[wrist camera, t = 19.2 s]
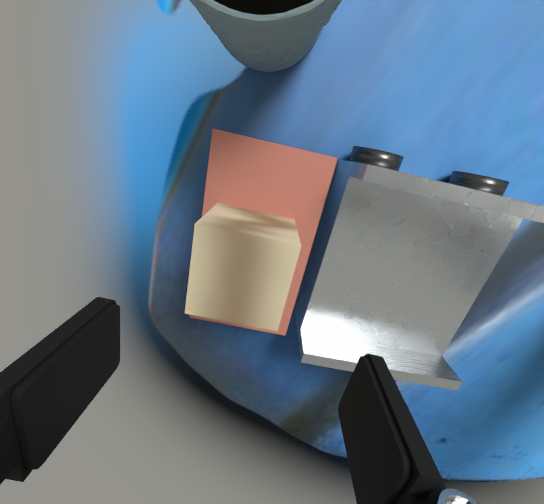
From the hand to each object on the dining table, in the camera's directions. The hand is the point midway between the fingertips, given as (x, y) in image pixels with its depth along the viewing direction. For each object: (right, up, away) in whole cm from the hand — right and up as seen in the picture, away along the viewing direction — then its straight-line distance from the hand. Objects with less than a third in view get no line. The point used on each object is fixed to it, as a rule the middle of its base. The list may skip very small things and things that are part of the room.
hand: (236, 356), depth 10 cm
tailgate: (+4, +4, +12) cm, 13 cm away
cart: (+12, +4, +17) cm, 21 cm away
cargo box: (0, +4, +11) cm, 12 cm away
